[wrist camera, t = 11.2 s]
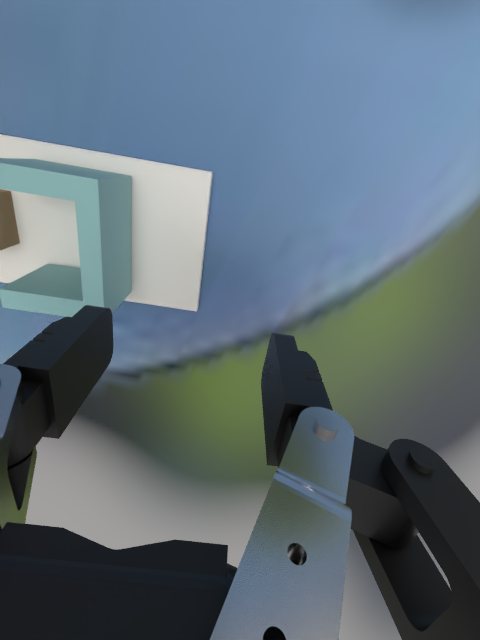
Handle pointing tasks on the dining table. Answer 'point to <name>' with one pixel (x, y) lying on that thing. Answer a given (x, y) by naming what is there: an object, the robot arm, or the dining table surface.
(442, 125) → the dining table surface
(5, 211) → the slat
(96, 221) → the cap
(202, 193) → the board
